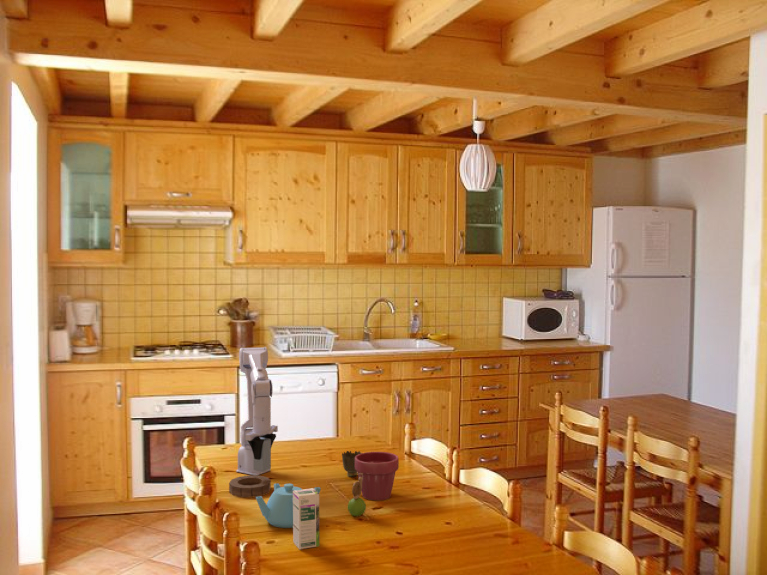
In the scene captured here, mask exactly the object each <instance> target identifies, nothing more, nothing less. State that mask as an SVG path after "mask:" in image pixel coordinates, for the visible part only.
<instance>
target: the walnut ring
mask: <svg viewBox="0 0 767 575" xmlns="http://www.w3.org/2000/svg"><path fill="white" fill-rule="evenodd" d="M271 484H272V482H271V479H270V478H269V477H267V476H262V475H257V476H255V475H244V476H238V477H235V478H232V479H231V480H230V481H229V483H228V486H229V488H228V492H229V494H231V495H232V496H235V497H240V498H256V497H259V496H261V497H263V496H264V495H267V494H269V493H270V491H271V490H272V489H271V488H272V487H271Z"/></svg>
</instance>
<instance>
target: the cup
mask: <svg viewBox="0 0 767 575" xmlns="http://www.w3.org/2000/svg"><path fill="white" fill-rule="evenodd" d="M354 451H355V452H352V451H351V450H350V451H349V450H346V452H345V451H343V452H342V453H341V456H342V460H341V461H342V465H343V469H344V471H346V472H347V473H346V475H347V477H351V478H355V477H357V476H358V471H356V470H355V457H356V456H357V455H358V454H361V453H362V452H361V451H359V450H358V451H357V450H354Z"/></svg>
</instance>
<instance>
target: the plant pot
mask: <svg viewBox="0 0 767 575" xmlns="http://www.w3.org/2000/svg"><path fill="white" fill-rule="evenodd" d="M399 467H400V466H399V455H397V454H394V453H391V452H385V451H368V452H367V451H366V452H361V454H358V455H357V456H356V457H355V470H356V471H358V472H357V473H358V474H357V476H358V478H359V477H362V478H363V480H362V490H361V495H362V498H364V499H366V500H369V501H383V500H388V499H390V498H391V495H392V491H393V487H394V482H395V477H396V472H397V471H398V470H399ZM359 473H363V475H361V474H359Z"/></svg>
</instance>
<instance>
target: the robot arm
mask: <svg viewBox="0 0 767 575" xmlns="http://www.w3.org/2000/svg"><path fill="white" fill-rule="evenodd" d="M238 353H239V354H238V360H239V370H240V372H241V373H243V374H244V375H245V378H246V389H247V395H246V397H247V414H248V415H247V417H248V419H247V420H245V421H244V422H243V423H242V424H241V426H240V447H239V448H238V452H237V469H236V470H235V472H236V473H240V474H241V473H242V474H247V475H249V476H261V475H262V474H264V473H265V474H266V473H267V472H270V471H271V469H269V470H267V471H264V472H261V471H256V470H254V459H257V460H260V459H261V452H262V445H263V442H264V440H263V439H260V438H261V437H262V438H268V439H271V448H272V446H273V444H274V442H275V440H276V439H277V434H276V433H278V432H279V430H278V427H279V426H278V425H272V423H271V422H272V421H271V420H272V416H271V413H272V411H271V405H272V403H271V402H272V400H271V399H272V397H273V391H274V390H273V382H272V379H271V378H269V376H268V375H269V374H268V372H267V371H268V370H266V369H267V368H268V367H267V366H268V361H269V351H268V348H267V346H263V347H240V348H239V352H238Z"/></svg>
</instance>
